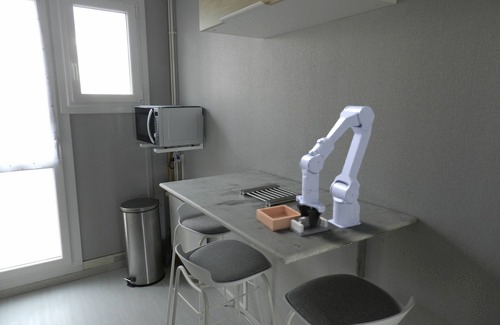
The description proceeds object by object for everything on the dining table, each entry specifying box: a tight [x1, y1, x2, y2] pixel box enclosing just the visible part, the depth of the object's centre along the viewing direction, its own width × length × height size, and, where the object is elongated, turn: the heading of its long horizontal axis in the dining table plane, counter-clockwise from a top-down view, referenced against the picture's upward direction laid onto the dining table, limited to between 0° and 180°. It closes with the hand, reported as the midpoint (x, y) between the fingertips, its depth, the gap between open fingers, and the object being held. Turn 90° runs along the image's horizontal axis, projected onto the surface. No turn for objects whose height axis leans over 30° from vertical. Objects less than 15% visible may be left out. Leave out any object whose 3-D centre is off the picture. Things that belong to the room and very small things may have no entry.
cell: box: [298, 216, 321, 229], centre depth 118 cm, size 8×4×4 cm, turn 116°
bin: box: [256, 204, 301, 232], centre depth 126 cm, size 13×13×4 cm
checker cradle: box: [289, 216, 330, 237], centre depth 119 cm, size 12×7×4 cm, turn 116°
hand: (309, 225), depth 119 cm, fingers closed on cell, 4 cm apart
